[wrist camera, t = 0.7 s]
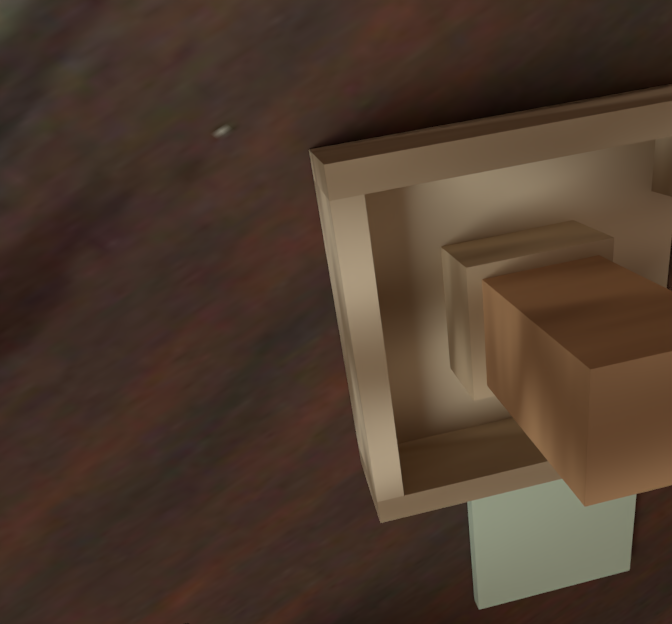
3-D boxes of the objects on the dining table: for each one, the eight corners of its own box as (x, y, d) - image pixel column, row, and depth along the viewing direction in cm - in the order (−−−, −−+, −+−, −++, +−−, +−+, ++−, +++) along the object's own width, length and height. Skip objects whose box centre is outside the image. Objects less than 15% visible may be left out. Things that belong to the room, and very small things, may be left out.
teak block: (594, 361, 20) (731, 470, 14) (487, 385, 19) (584, 506, 14) (599, 255, 18) (755, 332, 13) (482, 279, 18) (590, 369, 12)
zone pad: (621, 560, 29) (629, 570, 28) (474, 599, 28) (479, 609, 27) (632, 435, 25) (640, 443, 25) (465, 475, 25) (470, 484, 24)
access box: (645, 396, 25) (706, 443, 21) (361, 462, 24) (380, 522, 20) (674, 83, 19) (760, 84, 16) (308, 149, 18) (323, 164, 15)
